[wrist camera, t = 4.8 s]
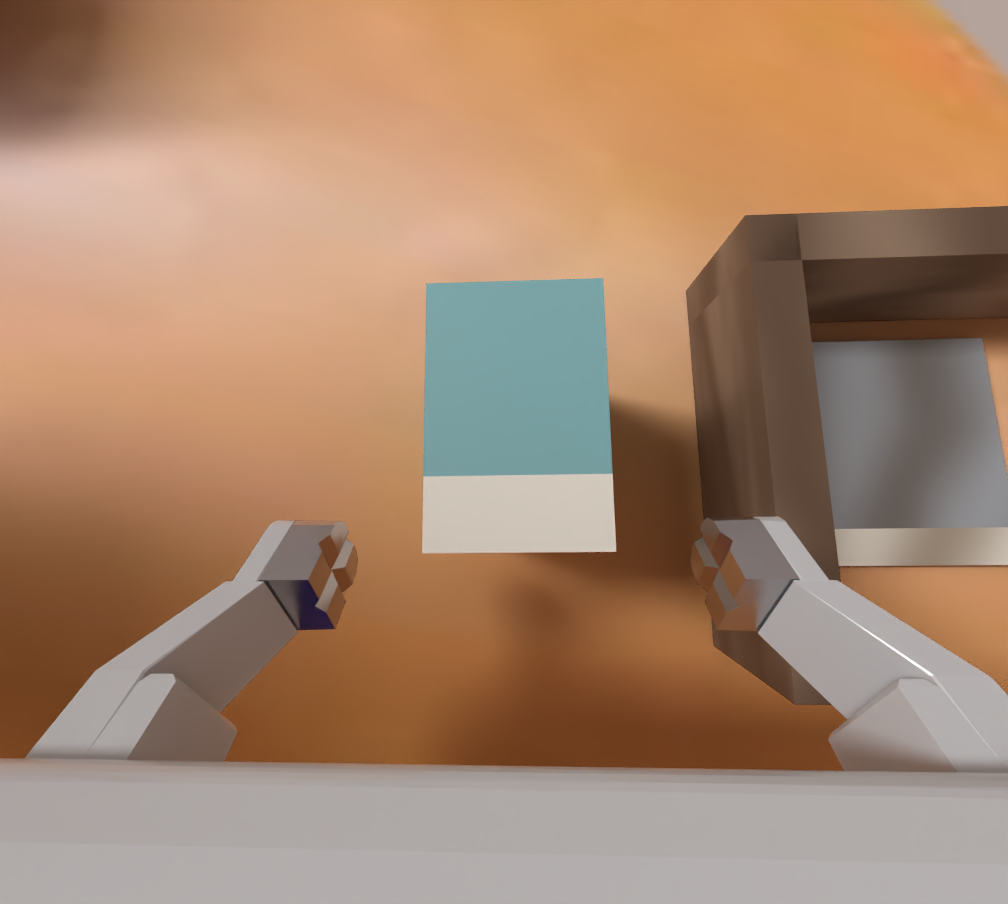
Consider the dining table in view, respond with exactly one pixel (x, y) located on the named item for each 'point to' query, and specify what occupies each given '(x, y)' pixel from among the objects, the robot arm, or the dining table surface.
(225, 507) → the dining table surface
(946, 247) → the corner arena
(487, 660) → the dining table surface
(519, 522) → the teal block
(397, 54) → the dining table surface
